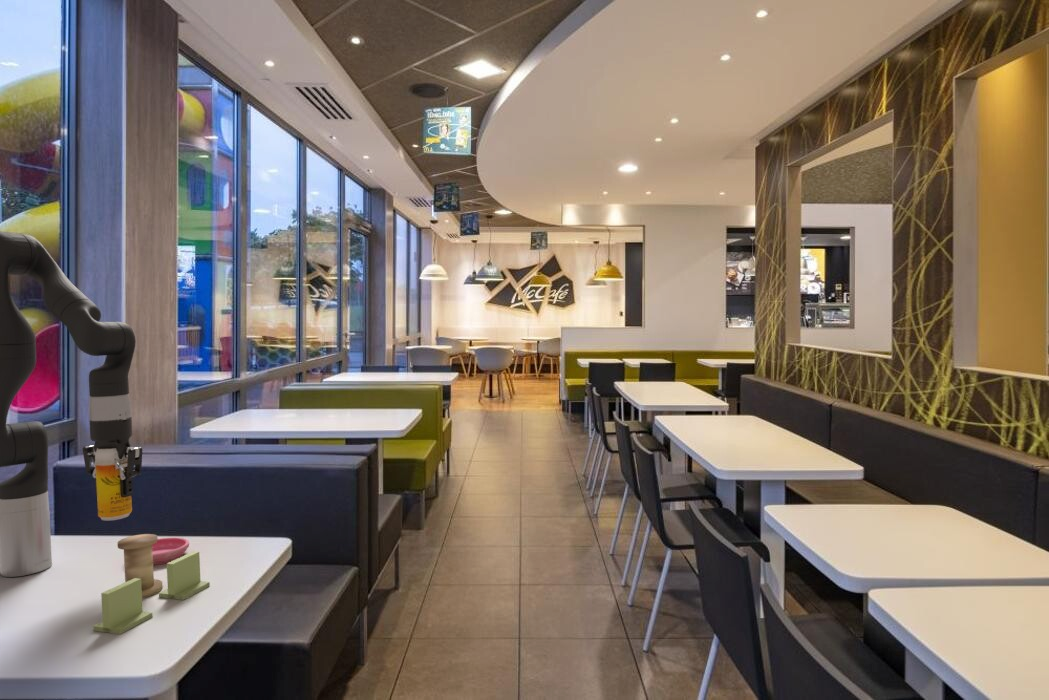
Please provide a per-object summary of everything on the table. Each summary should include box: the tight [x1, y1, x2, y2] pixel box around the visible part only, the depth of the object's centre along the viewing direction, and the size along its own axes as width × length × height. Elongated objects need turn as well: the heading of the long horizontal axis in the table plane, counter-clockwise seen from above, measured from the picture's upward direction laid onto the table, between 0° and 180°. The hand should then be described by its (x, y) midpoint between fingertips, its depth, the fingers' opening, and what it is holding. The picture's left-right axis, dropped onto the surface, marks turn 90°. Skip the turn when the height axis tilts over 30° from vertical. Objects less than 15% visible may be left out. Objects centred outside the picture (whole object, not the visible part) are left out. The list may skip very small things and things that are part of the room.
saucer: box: [152, 537, 190, 566], centre depth 153 cm, size 12×12×3 cm
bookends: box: [92, 550, 211, 635], centre depth 126 cm, size 6×22×7 cm, turn 164°
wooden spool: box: [117, 533, 164, 599], centre depth 133 cm, size 8×8×11 cm
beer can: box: [95, 447, 133, 522], centre depth 138 cm, size 6×6×15 cm
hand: (114, 495), depth 138 cm, fingers closed on beer can, 6 cm apart
